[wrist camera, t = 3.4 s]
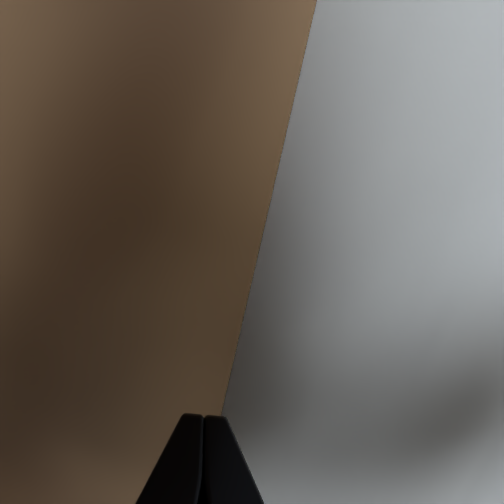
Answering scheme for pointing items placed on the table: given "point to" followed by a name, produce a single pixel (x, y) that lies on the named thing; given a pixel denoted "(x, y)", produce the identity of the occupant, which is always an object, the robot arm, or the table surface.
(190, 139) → the board
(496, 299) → the table surface
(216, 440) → the robot arm
